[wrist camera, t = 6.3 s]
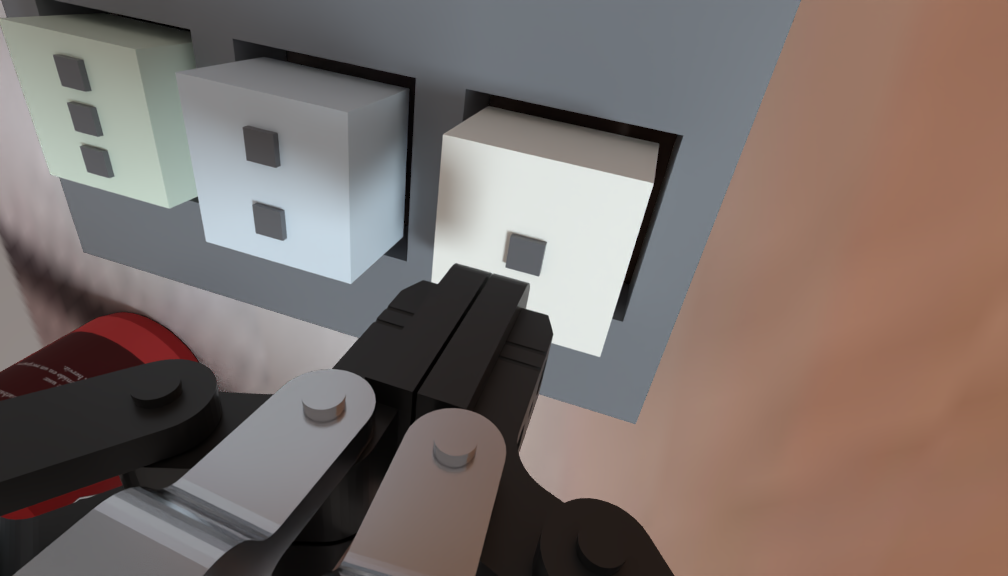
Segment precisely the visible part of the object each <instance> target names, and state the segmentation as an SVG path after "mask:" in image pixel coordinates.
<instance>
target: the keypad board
mask: <svg viewBox="0 0 1008 576" xmlns="http://www.w3.org/2000/svg"><path fill="white" fill-rule="evenodd" d="M1 1H2V4H3V7H4V10H5V13H6V16H7V18H11V17H32V16H52V15H73V14H93V13H106V14H108V12H112V13H116V14H121V15H125V16H130V17H135V18H139V19H144V20H149V21H153V22H158V23H163V24H167V25H172V26H177V27H181V28H186V29H190V31H191V38H192V44H193V50H194V56H195V62H196V68H202V67H208V66H214V65H219V64H225V63H231V62H237V61H243V60H248V59H254V58H260V57H267V58H272V59H276V60H281V61H285V62H287V58H286V50H288V51H293V52H297V53H302V54H307V55H311V56H316V57H321V58H325V59H330V60H335V61H339V62H344V63H349V64H353V65H358V66H363V67H367V68H372V69H376V70H381V71H386V72H390V73H395V74H400V75H404V76H409V77H414V78H416V86H415V107H414V127H413V148H412V168H411V189H410V210H409V226H408V225H404V229H403V237H402V238H401V239H400V240H399V241H398V242H397V243H396V244H395V245H394V246H392V247H391V248H390V249H389V250H388V251H387V252H386V253H385V254H384V255H382V256H381V257H380V258H379V259H378V260H377V261H376V262H375V263H374V264H373V265H371V266H370V267H369V268H368V269H367V270H366V271H365V272H364V273H363V274H361V275H360V276H359V277H358V278H357V279H356V280H355V281H354V282H353V283H352V284H349V283H345V282H342V281H339V280H335V279H332V278H328V277H325V276H322V275H318V274H315V273H311V272H308V271H305V270H301V269H298V268H294V267H291V266H287V265H284V264H281V263H277V262H274V261H270V260H267V259H264V258H260V257H257V256H253V255H250V254H247V253H243V252H240V251H236V250H233V249H230V248H226V247H223V246H219V245H216V244H212V243H209V242H206V238H205V233H204V227H203V222H202V216H201V211H200V206H199V200H198V196H197V197H195V198H193V199H191V200H188V201H186V202H184V203H181V204H179V205H177V206H175V207H172V208H170V209H169V208H165V207H162V206H158V205H155V204H151V203H148V202H144V201H141V200H137V199H134V198H130V197H127V196H123V195H120V194H116V193H113V192H109V191H106V190H102V189H99V188H95V187H92V186H88V185H85V184H81V183H78V182H74V181H71V180H67V179H64V178H60V177H59V178H60V181H61V184H62V187H63V191H64V194H65V197H66V200H67V203H68V206H69V209H70V212H71V215H72V218H73V221H74V224H75V227H76V230H77V233H78V236H79V240H80V243H81V246H82V249H83V252H85V253H88V254H91V255H94V256H98V257H101V258H104V259H107V260H110V261H114V262H117V263H120V264H123V265H126V266H130V267H133V268H136V269H139V270H142V271H146V272H149V273H152V274H155V275H158V276H162V277H165V278H168V279H171V280H175V281H178V282H181V283H184V284H187V285H191V286H194V287H197V288H200V289H203V290H207V291H210V292H213V293H216V294H219V295H223V296H226V297H229V298H232V299H236V300H239V301H242V302H245V303H248V304H252V305H255V306H258V307H261V308H264V309H268V310H271V311H274V312H277V313H280V314H284V315H287V316H290V317H293V318H296V319H300V320H303V321H306V322H309V323H313V324H316V325H319V326H322V327H325V328H329V329H332V330H335V331H338V332H341V333H345V334H348V335H351V336H354V337H357V338H360V337H361V336H362V334H363V333H364V332H365V331H366V330H367V329H368V328H369V326H370V325H371V324H372V323H373V322H376V319H377V317H378V316H379V315H380V314H381V313H382V312H383V311H384V310H385V309H387V308H388V305H389V304H390V303H391V302H392V301H393V299H394V298H395V297H396V296H397V295H398V294H399V293H400V291H401V290H403V289H405V288H407V287H409V286H412V285H414V284H416V283H418V282H420V281H422V280H425V281H429V282H431V279H432V267H433V254H434V241H435V229H436V216H437V203H438V191H439V178H440V165H441V152H442V140H443V134H444V133H446V132H448V131H449V130H451V129H452V128H454V127H455V126H457V125H459V124H460V123H462V122H463V121H465V120H467V119H468V118H470V117H471V116H473V115H475V114H476V113H478V112H479V111H481V110H483V109H484V108H486V107H487V106H489V102H490V94H493V95H497V96H502V97H507V98H511V99H516V100H521V101H525V102H530V103H535V104H539V105H544V106H548V107H553V108H558V109H562V110H567V111H572V112H576V113H581V114H586V115H590V116H595V117H600V118H604V119H609V120H614V121H618V122H623V123H627V124H632V125H637V126H641V127H646V128H651V129H655V130H660V131H665V132H669V133H674V134H677V137H676V140H675V143H674V146H673V149H672V153H671V156H670V159H669V162H668V165H667V168H666V171H665V175H664V178H663V181H662V184H661V187H660V190H659V193H658V197H657V200H656V203H655V206H654V209H653V212H652V215H651V219H650V222H649V225H648V228H647V231H646V234H645V238H644V241H643V244H642V247H641V250H640V253H639V256H638V260H637V263H636V266H635V269H634V272H633V275H632V278H631V282H630V285H629V284H625V283H623V285H622V288H621V291H620V294H619V298H618V301H617V304H616V307H615V311H614V314H613V317H612V320H611V323H610V327H609V330H608V333H607V336H606V340H605V343H604V346H603V349H602V353H601V356H600V357H598V356H594V355H591V354H587V353H584V352H581V351H577V350H574V349H570V348H567V347H564V346H560V345H557V344H553V343H551V347H550V351H549V355H548V359H547V363H546V367H545V371H544V375H543V379H542V383H541V388H540V392H539V394H540V395H544V396H547V397H550V398H553V399H556V400H560V401H563V402H566V403H569V404H572V405H576V406H579V407H582V408H585V409H589V410H592V411H595V412H598V413H601V414H605V415H608V416H611V417H614V418H617V419H621V420H624V421H627V422H630V423H633V424H636V421H637V419H638V416H639V414H640V411H641V409H642V406H643V404H644V401H645V398H646V396H647V393H648V391H649V388H650V386H651V383H652V381H653V378H654V375H655V373H656V370H657V368H658V365H659V363H660V360H661V357H662V355H663V352H664V350H665V347H666V345H667V342H668V340H669V337H670V334H671V332H672V329H673V327H674V324H675V322H676V319H677V317H678V314H679V311H680V309H681V306H682V304H683V301H684V299H685V296H686V293H687V291H688V288H689V286H690V283H691V281H692V278H693V276H694V273H695V270H696V268H697V265H698V263H699V260H700V258H701V255H702V253H703V250H704V247H705V245H706V242H707V240H708V237H709V235H710V232H711V229H712V227H713V224H714V222H715V219H716V217H717V214H718V212H719V209H720V206H721V204H722V201H723V199H724V196H725V194H726V191H727V188H728V186H729V183H730V181H731V178H732V176H733V173H734V171H735V168H736V165H737V163H738V160H739V158H740V155H741V153H742V150H743V148H744V145H745V142H746V140H747V137H748V135H749V132H750V130H751V127H752V124H753V122H754V119H755V117H756V114H757V112H758V109H759V107H760V104H761V101H762V99H763V96H764V94H765V91H766V89H767V86H768V84H769V81H770V78H771V76H772V73H773V71H774V68H775V66H776V63H777V60H778V58H779V55H780V53H781V50H782V48H783V45H784V43H785V40H786V37H787V35H788V32H789V30H790V27H791V25H792V22H793V20H794V17H795V14H796V12H797V9H798V7H799V4H800V2H801V0H1Z"/></svg>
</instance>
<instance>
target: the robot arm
mask: <svg viewBox="0 0 1008 576" xmlns="http://www.w3.org/2000/svg"><path fill="white" fill-rule="evenodd" d="M529 291H530V283H527V282H524V281H520V280H517V279H513V278H509V277H506V276H502V275H498V274H495V273H493V274H492V273H491V272H487V271H483V270H480V269H476V268H472V267H469V266H465V265H462V264H458V263H455V264H453V265H452V267H451V268H450V269H449V270H448V272H447V273H446V274H445V276H444V277H443V278H442V279H441V281H440V282H439V283H438V284H436V283H432V282H429V281H425V280H422V281H420V282H418V283H416V284H414V285H412V286H409V287H407V288H405V289H403V290H401V291H400V293H399V294H398V295H397V296H396V297H395V298H394V299H393V301H392V302H391V303H390V304H389V305H388V308H387V309H385V310H384V311H383V312H382V313H381V314H380V315H379V316H378V317H377V319H376V322H373V323H372V324H371V325H370V326H369V328H368V329H367V330H366V331H365V332H364V333H363V334H362V336H361V337H360V338H359V339H358V340H357V341H356V342H355V343H354V345H353V346H352V347H351V348H350V349H349V350H348V351H347V352H346V354H345V355H344V356H343V357H342V358H341V359H340V360H339V361H338V363H337V364H336V365H335V366H334V367H333V368H332V369H323V370H316V371H311V372H308V373H305V374H302V375H300V376H298V377H296V378H294V379H292V380H290V381H289V382H288V383H286V384H285V385H284V386H282V387H281V388H280V389H279V390H278V391H277V392H276V393H275V394H248V393H229V392H218V387H217V383H216V378H215V376H214V374H213V372H212V371H211V370H210V369H209V368H208V367H206V366H205V365H203V364H201V363H198V362H195V361H191V360H184V359H168V360H160V361H155V362H150V363H146V364H142V365H138V366H135V367H131V368H127V369H123V370H119V371H115V372H111V373H107V374H103V375H99V376H96V377H92V378H88V379H84V380H80V381H76V382H72V383H68V384H64V385H60V386H57V387H53V388H49V389H45V390H41V391H37V392H33V393H29V394H25V395H22V396H18V397H14V398H10V399H6V400H2V401H0V576H674V574H673V573H672V571H671V570H670V568H669V567H668V565H667V563H666V562H665V560H664V559H663V557H662V555H661V554H660V552H659V551H658V549H657V548H656V546H655V544H654V543H653V541H652V540H651V538H650V537H649V535H648V534H647V532H646V531H645V530H644V528H643V527H642V526H641V525H640V524H639V523H638V522H637V520H636V519H635V518H633V517H632V516H631V515H630V514H628V513H627V512H626V511H624V510H623V509H621V508H619V507H618V506H615V505H613V504H611V503H609V502H605V501H602V500H598V499H591V498H580V499H575V500H571V501H568V502H566V503H564V502H562V501H561V500H559V499H558V498H556V497H555V496H554V495H552V494H551V493H549V492H548V491H546V490H545V489H544V488H543V487H541V486H540V485H539V484H538V483H536V481H535V480H534V479H533V478H532V477H531V476H530V475H529V474H528V472H527V471H526V469H525V468H524V466H523V464H522V462H521V460H520V457H519V451H520V448H521V445H522V442H523V439H524V437H525V434H526V430H527V428H528V425H529V422H530V419H531V415H532V413H533V410H534V407H535V404H536V401H537V398H538V395H539V392H540V388H541V383H542V379H543V375H544V371H545V367H546V363H547V359H548V355H549V351H550V347H551V342H552V338H553V330H552V327H551V323H550V320H549V316H548V315H546V314H542V313H538V312H535V311H531V310H528V309H526V306H527V301H528V296H529ZM118 475H119V477H120V480H121V482H122V486H120V487H117V488H114V489H111V490H108V491H106V492H103V493H100V494H97V495H94V496H92V497H89V498H86V499H83V500H80V501H78V502H75V503H72V504H69V505H67V506H64V507H61V508H58V509H55V510H53V511H50V512H47V513H44V514H41V515H39V516H35V517H32V518H27V519H17V520H15V519H7V518H3V517H1V516H3V515H6V514H9V513H12V512H15V511H18V510H20V509H23V508H26V507H29V506H32V505H35V504H38V503H41V502H43V501H46V500H49V499H52V498H55V497H58V496H61V495H64V494H66V493H69V492H72V491H75V490H78V489H81V488H84V487H87V486H89V485H92V484H95V483H98V482H101V481H104V480H107V479H110V478H113V477H115V476H118Z"/></svg>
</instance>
